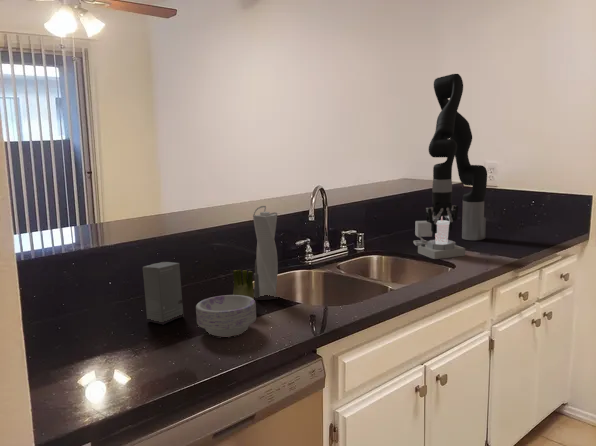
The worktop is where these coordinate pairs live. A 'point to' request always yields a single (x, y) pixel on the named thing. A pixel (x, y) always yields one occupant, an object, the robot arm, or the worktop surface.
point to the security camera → (422, 232)
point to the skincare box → (162, 291)
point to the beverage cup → (442, 232)
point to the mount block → (441, 250)
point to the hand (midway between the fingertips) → (441, 232)
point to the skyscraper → (265, 254)
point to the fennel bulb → (243, 283)
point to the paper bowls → (226, 314)
